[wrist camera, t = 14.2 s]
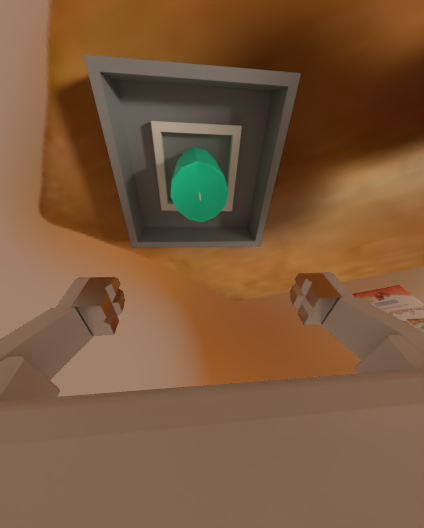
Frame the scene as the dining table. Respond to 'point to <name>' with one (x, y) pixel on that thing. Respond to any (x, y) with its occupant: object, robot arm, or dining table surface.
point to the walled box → (192, 143)
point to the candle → (198, 185)
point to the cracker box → (396, 304)
